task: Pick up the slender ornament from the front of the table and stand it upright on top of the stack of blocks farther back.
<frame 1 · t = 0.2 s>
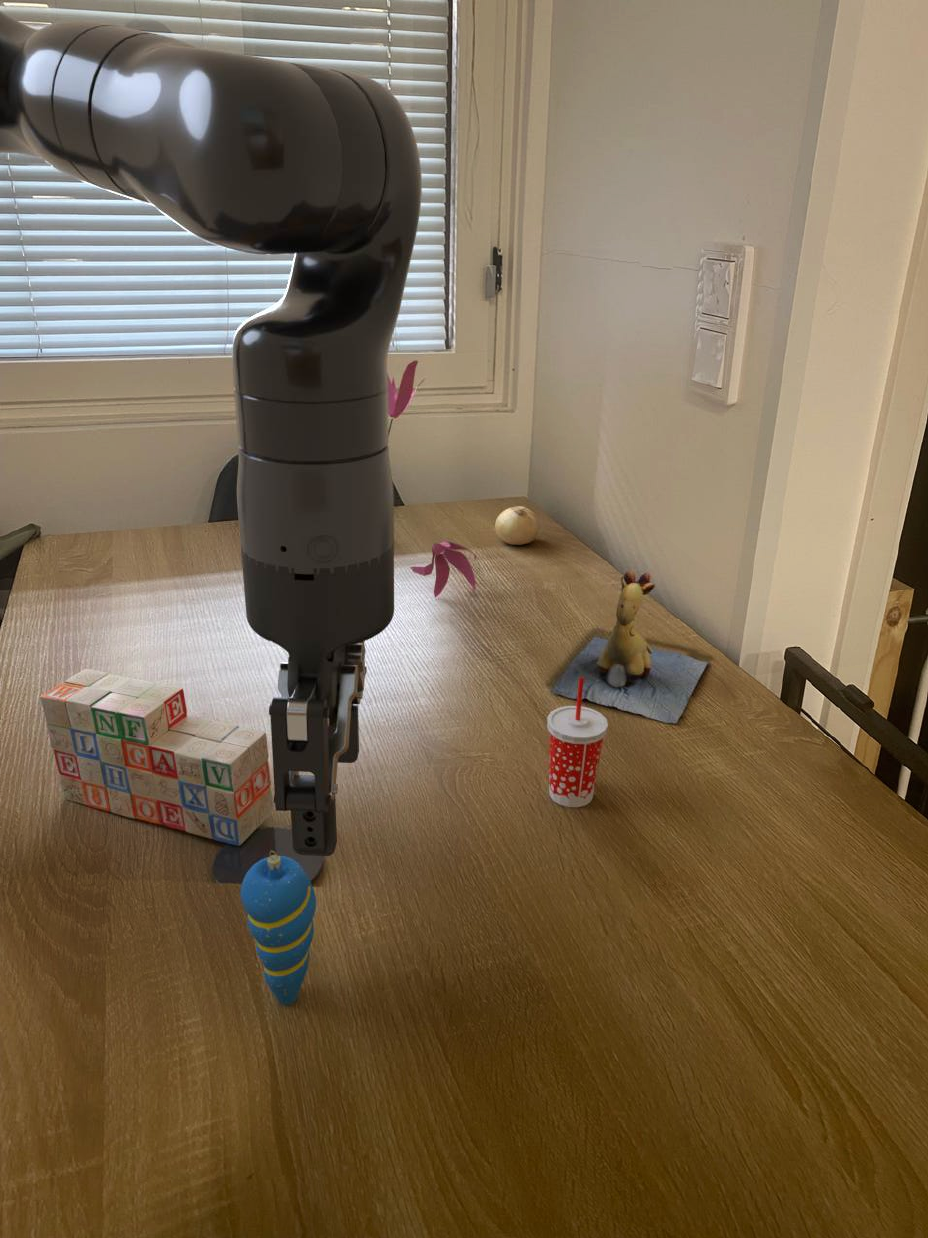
hand: (328, 802, 52), 25 cm above the table, tool pointing down, fingers open, 8 cm apart
decorative plant: (366, 573, 149), on the table
beverage cup: (570, 795, 96), on the table
ornament: (287, 1010, 70), on the table
stack of blocks: (168, 807, 92), on the table, touching slate coaster
stuffed giraffe: (631, 679, 119), on the table
onion: (516, 542, 164), on the table
slate coaster: (268, 866, 84), on the table
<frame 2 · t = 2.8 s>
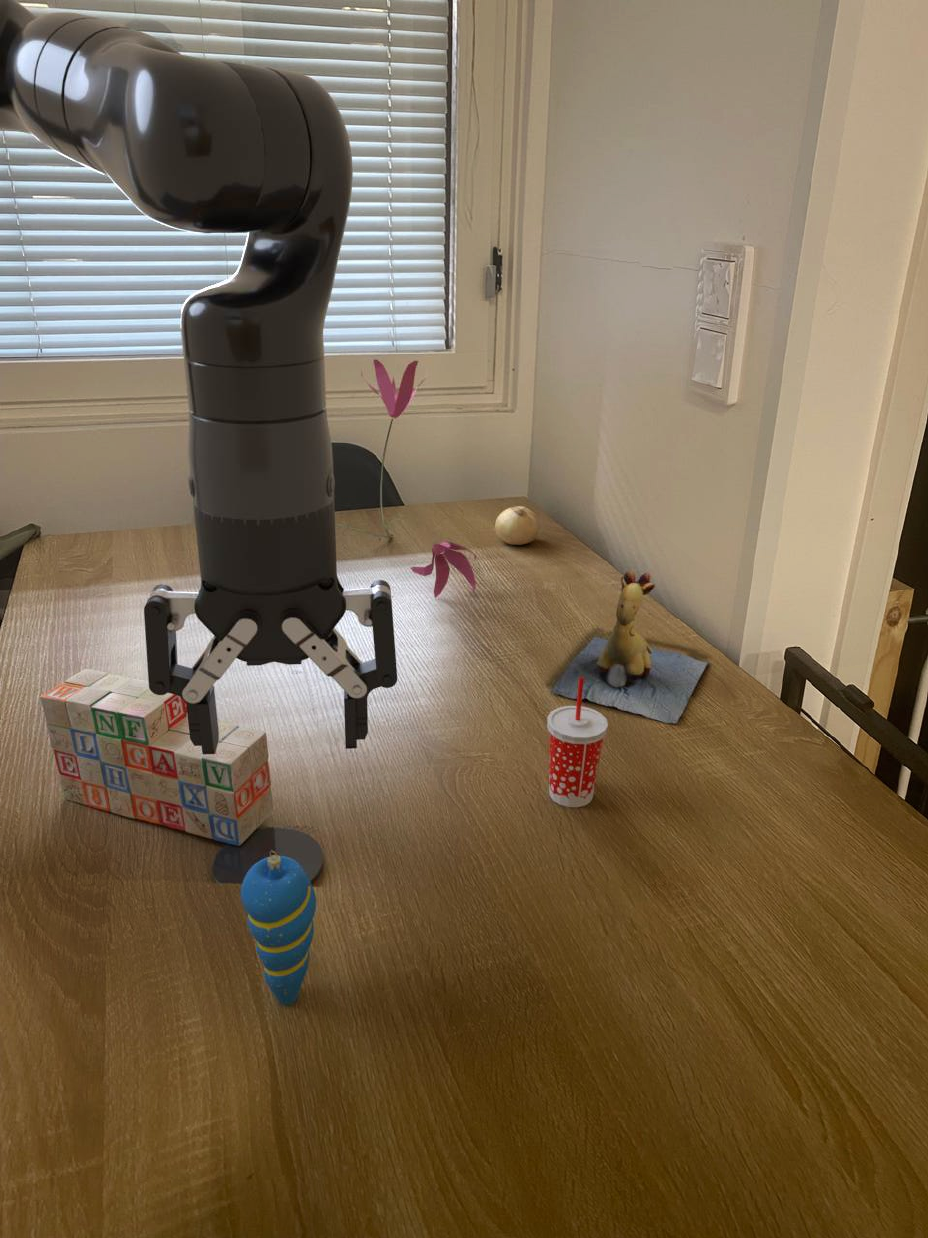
hand: (281, 744, 56), 26 cm above the table, tool pointing down, fingers open, 8 cm apart
nothing on the table moved.
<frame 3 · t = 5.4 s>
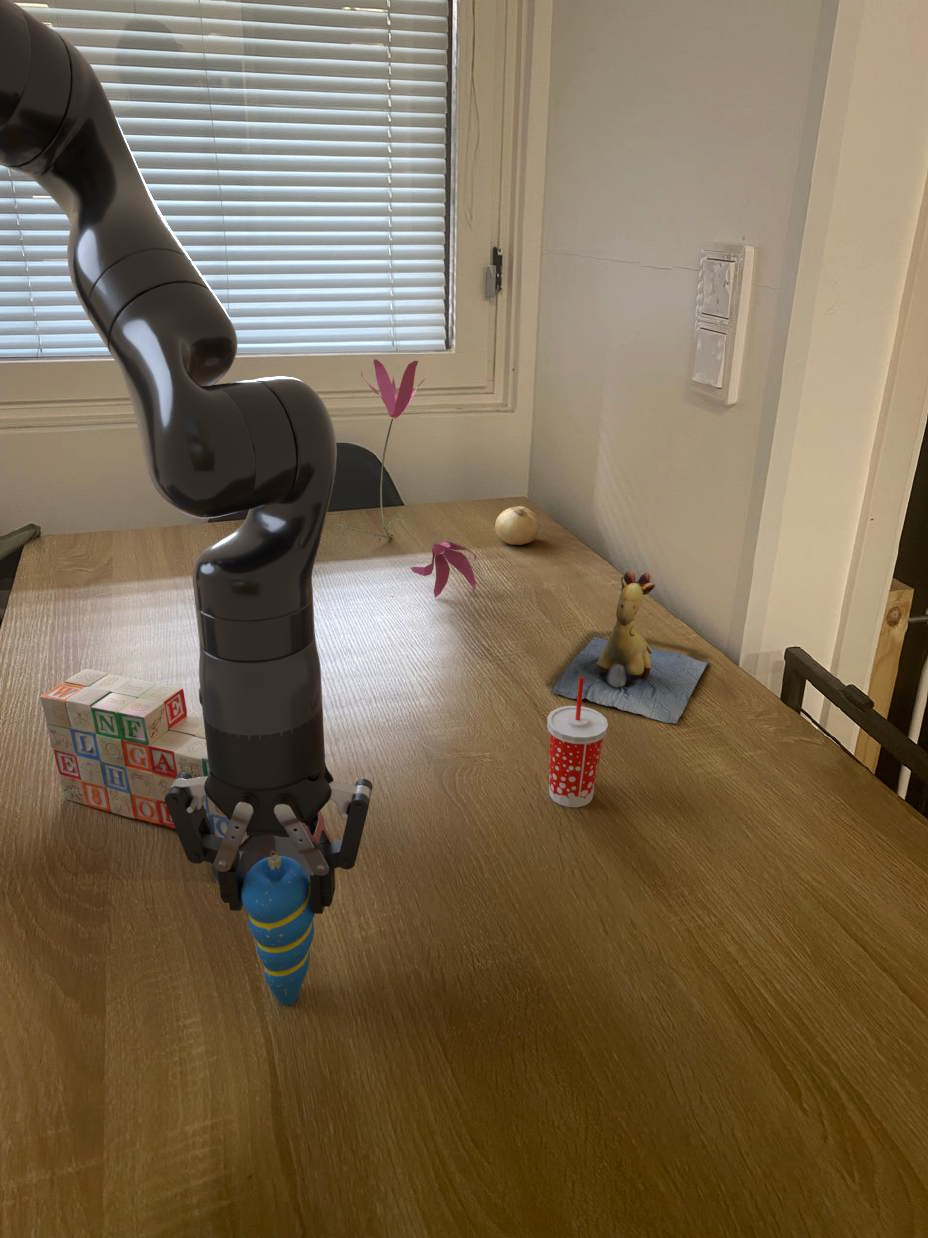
hand: (278, 903, 65), 10 cm above the table, tool pointing down, fingers closed on ornament, 5 cm apart
ornament: (287, 1010, 70), on the table, touching gripper
everything else where it was.
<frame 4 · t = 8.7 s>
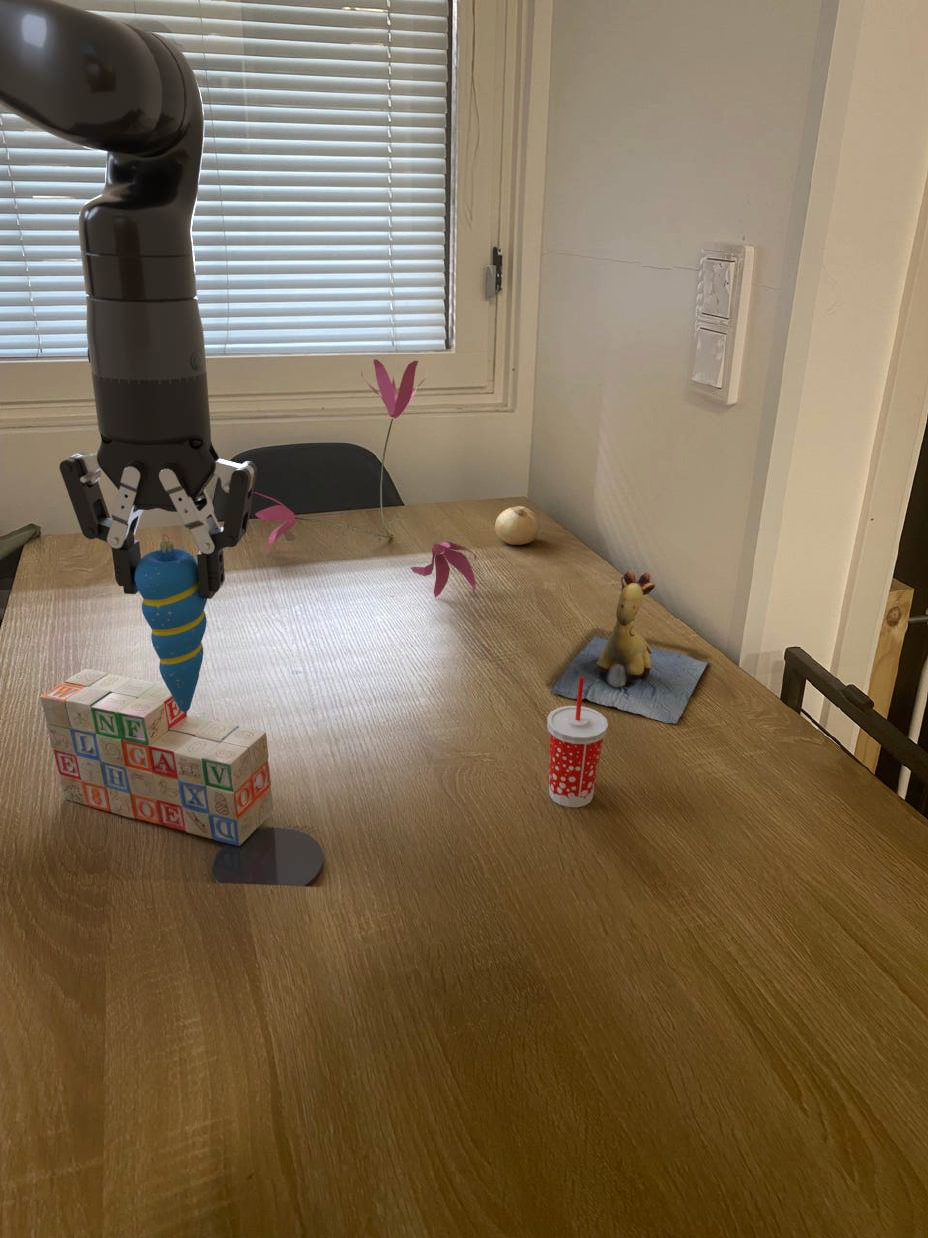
hand: (171, 591, 69), 29 cm above the table, tool pointing down, fingers closed on ornament, 5 cm apart
ornament: (183, 712, 74), point 18 cm above the table, touching gripper
everything else where it was.
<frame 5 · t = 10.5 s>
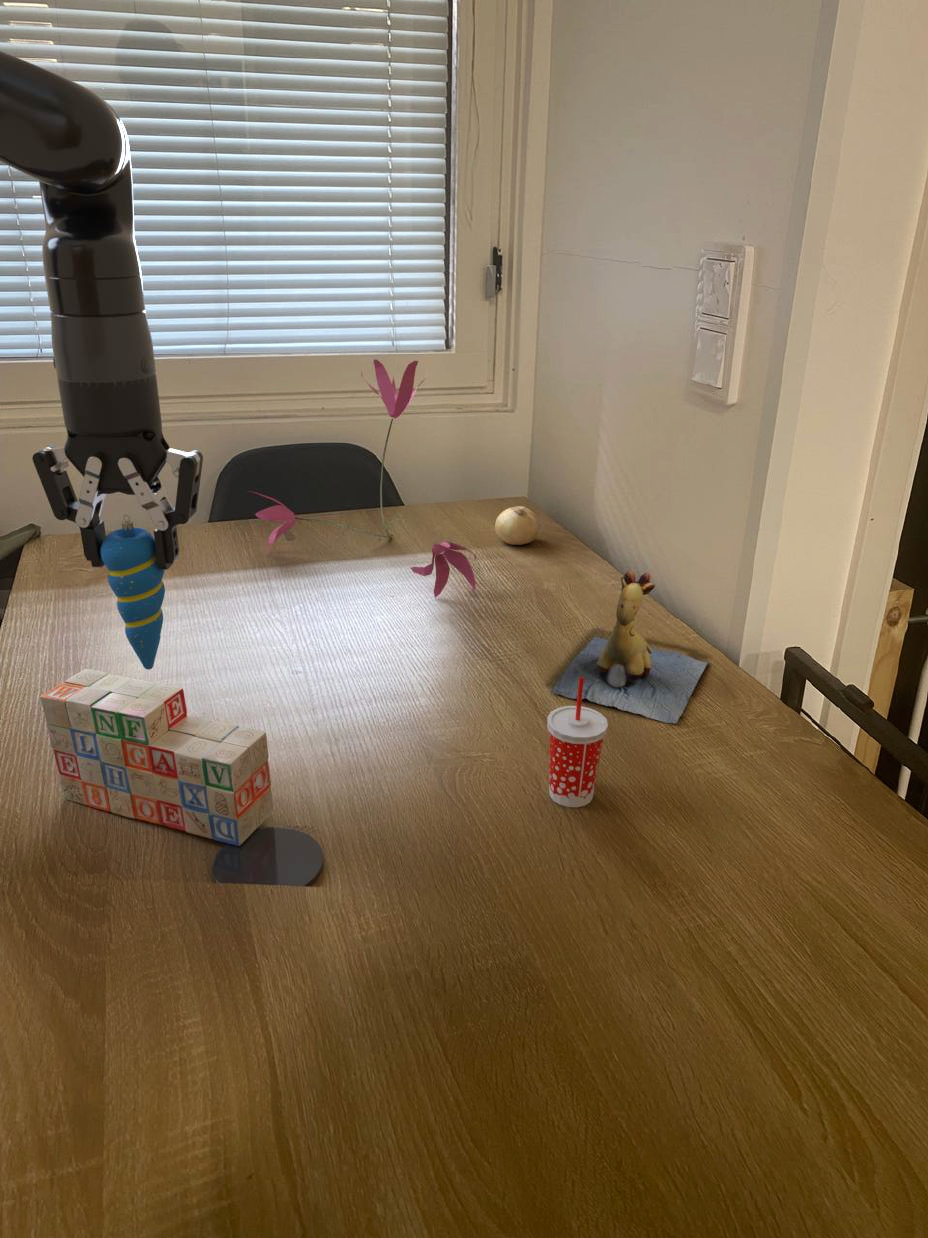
hand: (133, 564, 80), 26 cm above the table, tool pointing down, fingers closed on ornament, 5 cm apart
ornament: (147, 670, 85), point 16 cm above the table, touching gripper
everything else where it was.
when the fingers open (23 cm above the table, at t = 11.9 s): ornament stays where it is, resting on stack of blocks.
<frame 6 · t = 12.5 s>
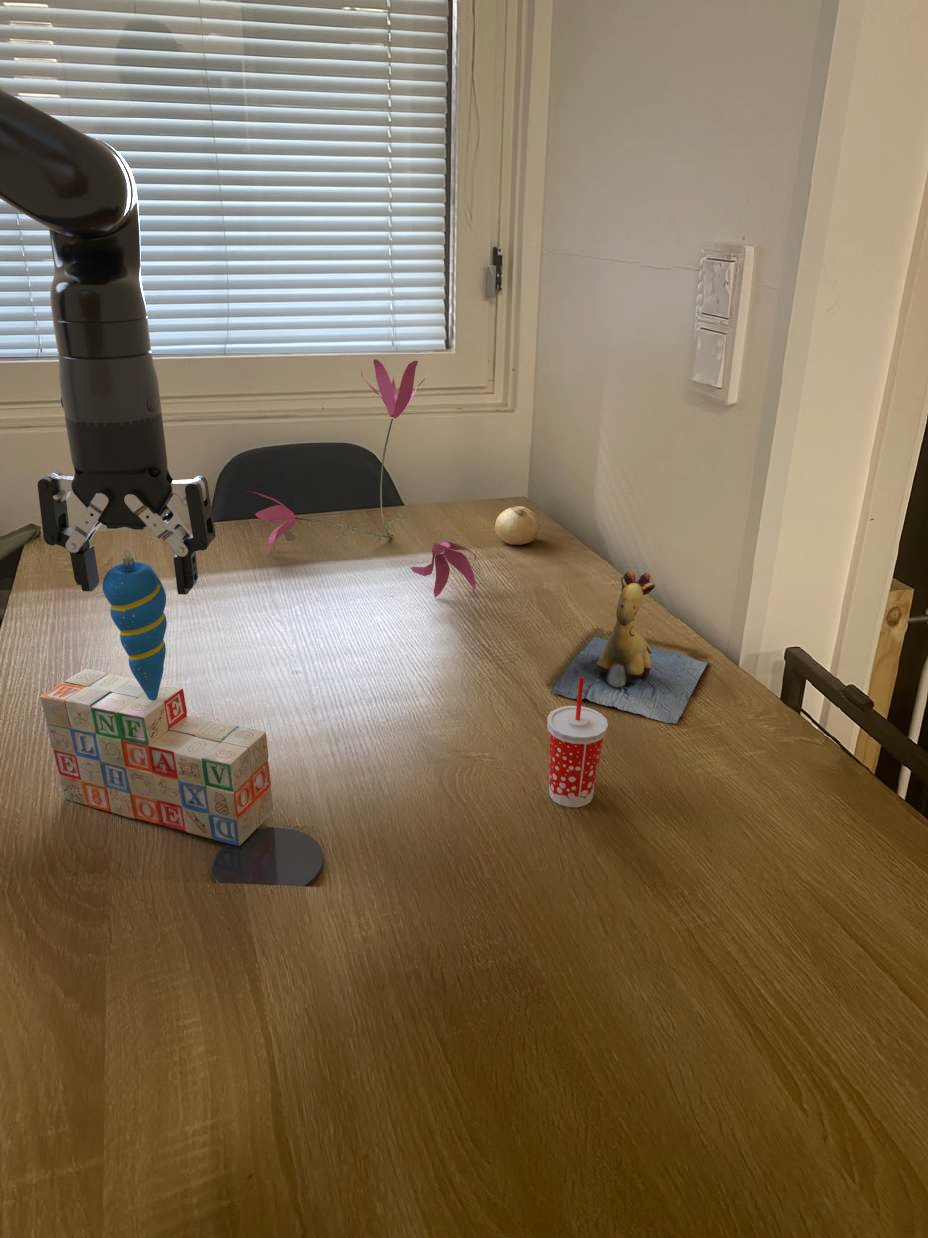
hand: (138, 589, 81), 24 cm above the table, tool pointing down, fingers open, 8 cm apart
ornament: (152, 701, 86), point 12 cm above the table, touching stack of blocks
stack of blocks: (168, 807, 92), on the table, touching ornament, slate coaster
everything else where it was.
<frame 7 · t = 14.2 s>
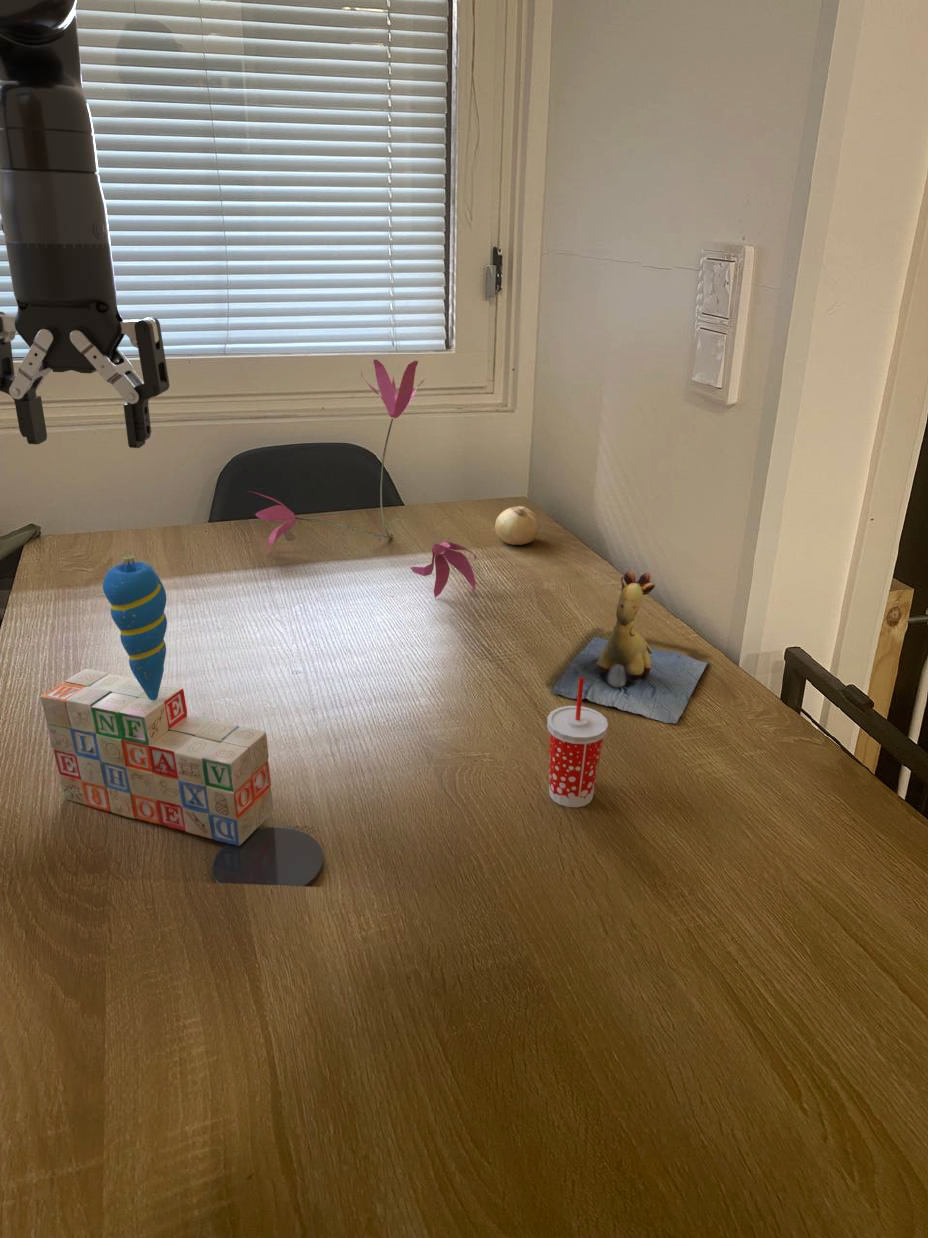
hand: (87, 444, 77), 37 cm above the table, tool pointing down, fingers open, 8 cm apart
nothing on the table moved.
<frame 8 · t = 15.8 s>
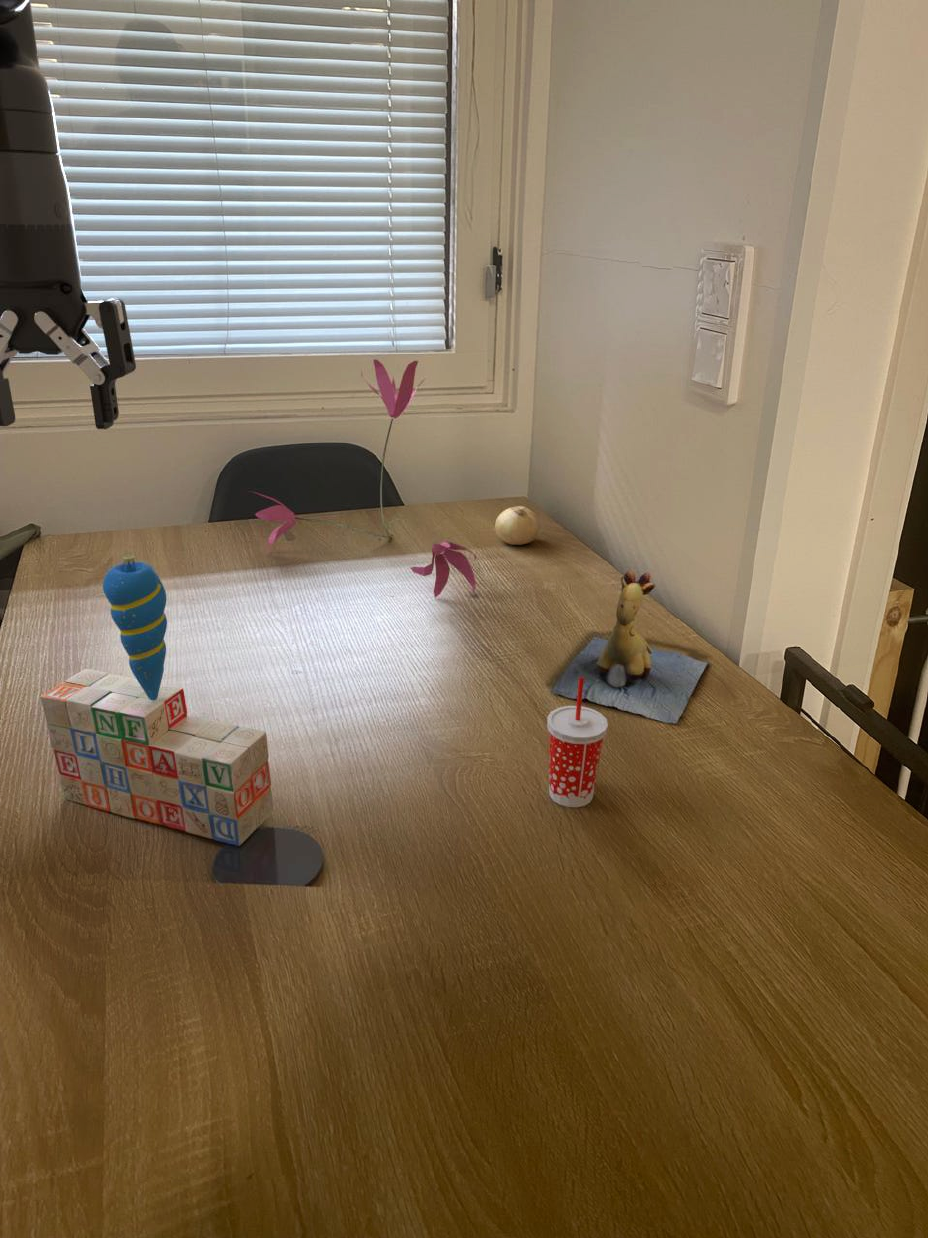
hand: (55, 425, 77), 38 cm above the table, tool pointing down, fingers open, 8 cm apart
nothing on the table moved.
at the end: ornament inside the target area on the stack of blocks (0.1 cm from its centre), point 12.3 cm above the stack of blocks's base; ornament tilted 2°; the gripper is holding nothing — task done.
